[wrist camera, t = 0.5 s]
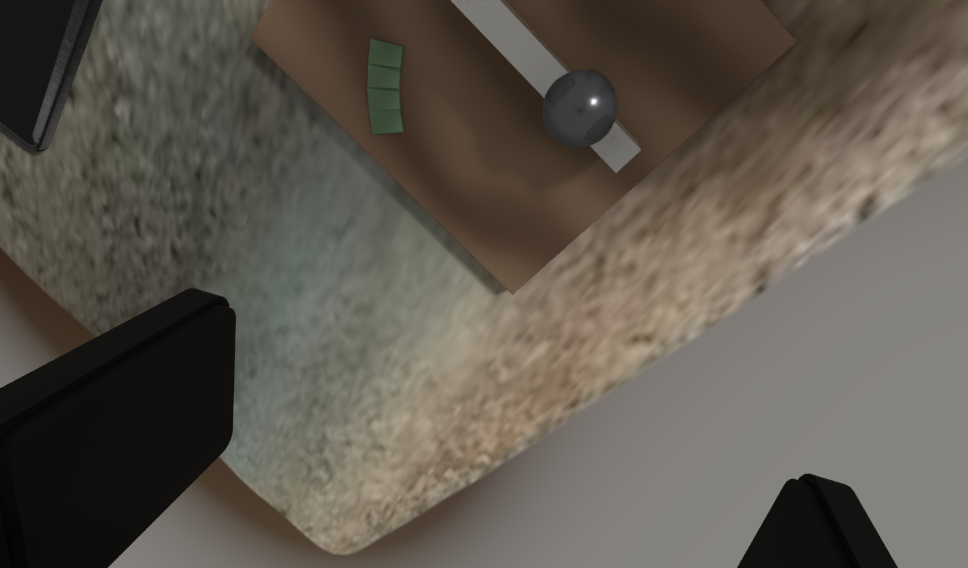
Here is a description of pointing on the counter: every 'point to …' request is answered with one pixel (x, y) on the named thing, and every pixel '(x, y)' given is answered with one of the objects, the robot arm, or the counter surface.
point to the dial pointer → (557, 85)
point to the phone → (40, 64)
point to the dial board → (515, 102)
